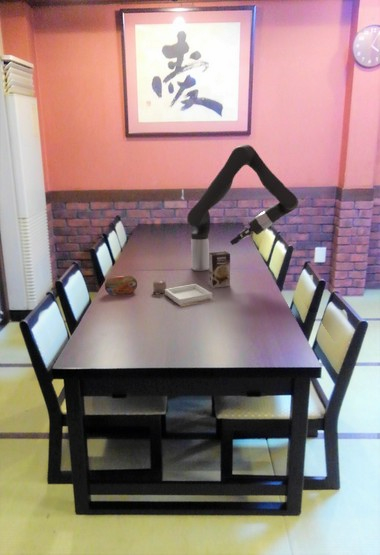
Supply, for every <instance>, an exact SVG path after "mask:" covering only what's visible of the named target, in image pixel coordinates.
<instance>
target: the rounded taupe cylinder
mask: <svg viewBox="0 0 380 555" xmlns="http://www.w3.org/2000/svg"><path fill="white" fill-rule="evenodd" d="M152 284H153V285H152V287H153V294H155V293H163V294H165V289H167V281H166V280H164V279H157V280H153V282H152Z"/></svg>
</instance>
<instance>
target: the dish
mask: <svg viewBox="0 0 380 555" xmlns="http://www.w3.org/2000/svg"><path fill="white" fill-rule="evenodd" d="M164 295H165V296H166V297H167V298H169V299H171V301H173V302H175V303H176V304H177V305H179V306H180V305H183V304H188V303H193V302H198V301H203V300H208V299H212V300H213V292H211V291H209V290H207V289H205V288H204V287H202V286H200V285H198V284H197V283H192V284H185V285H181V286H180V285H179V286H175V287H170V288H166V289H165V293H164Z"/></svg>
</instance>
